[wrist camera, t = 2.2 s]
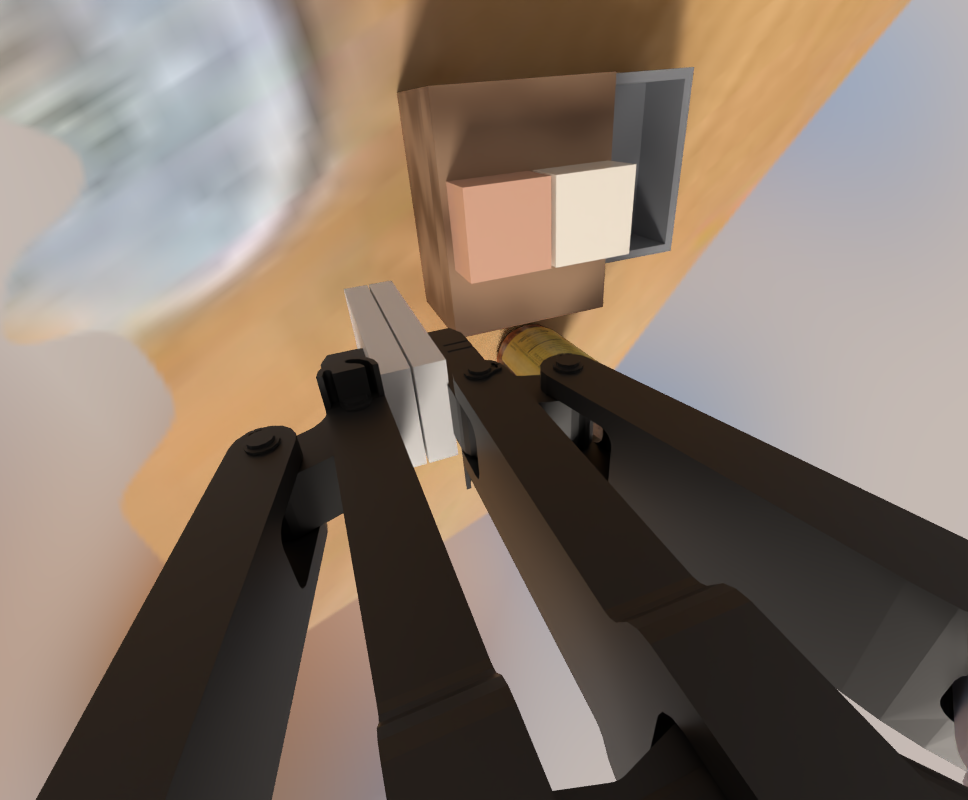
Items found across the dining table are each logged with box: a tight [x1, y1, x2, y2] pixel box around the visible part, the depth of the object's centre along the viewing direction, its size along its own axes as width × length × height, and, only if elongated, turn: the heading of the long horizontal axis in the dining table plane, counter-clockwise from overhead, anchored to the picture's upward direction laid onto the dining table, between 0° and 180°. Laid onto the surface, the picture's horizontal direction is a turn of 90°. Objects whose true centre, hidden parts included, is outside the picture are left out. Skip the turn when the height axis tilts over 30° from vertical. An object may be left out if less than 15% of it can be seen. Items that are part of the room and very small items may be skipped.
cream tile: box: [533, 160, 636, 268], centre depth 29 cm, size 5×5×3 cm
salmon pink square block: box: [446, 171, 551, 284], centre depth 28 cm, size 5×5×3 cm
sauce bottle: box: [497, 324, 603, 439], centre depth 36 cm, size 7×6×20 cm
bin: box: [605, 67, 694, 263], centre depth 35 cm, size 12×12×5 cm
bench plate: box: [397, 71, 616, 337], centre depth 33 cm, size 14×11×8 cm
